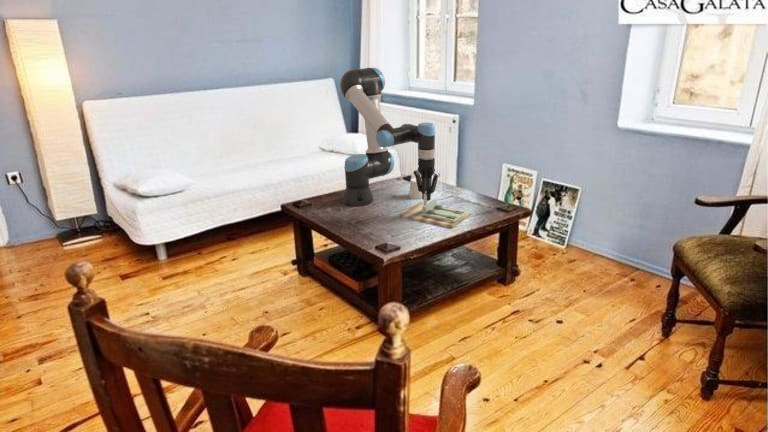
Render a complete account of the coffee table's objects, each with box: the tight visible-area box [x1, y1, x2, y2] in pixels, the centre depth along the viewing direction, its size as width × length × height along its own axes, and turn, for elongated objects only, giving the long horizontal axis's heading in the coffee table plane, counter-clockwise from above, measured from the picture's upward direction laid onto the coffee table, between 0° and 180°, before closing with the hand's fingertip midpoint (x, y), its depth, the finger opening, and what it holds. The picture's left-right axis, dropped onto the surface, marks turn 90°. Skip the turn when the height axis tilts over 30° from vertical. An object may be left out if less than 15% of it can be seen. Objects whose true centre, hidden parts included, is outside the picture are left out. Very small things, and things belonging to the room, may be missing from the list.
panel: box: [421, 199, 467, 222], centre depth 231 cm, size 17×12×4 cm
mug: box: [408, 177, 432, 200], centre depth 259 cm, size 12×9×8 cm
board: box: [399, 202, 472, 229], centre depth 234 cm, size 28×18×4 cm, turn 55°
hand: (426, 206), depth 236 cm, fingers closed
